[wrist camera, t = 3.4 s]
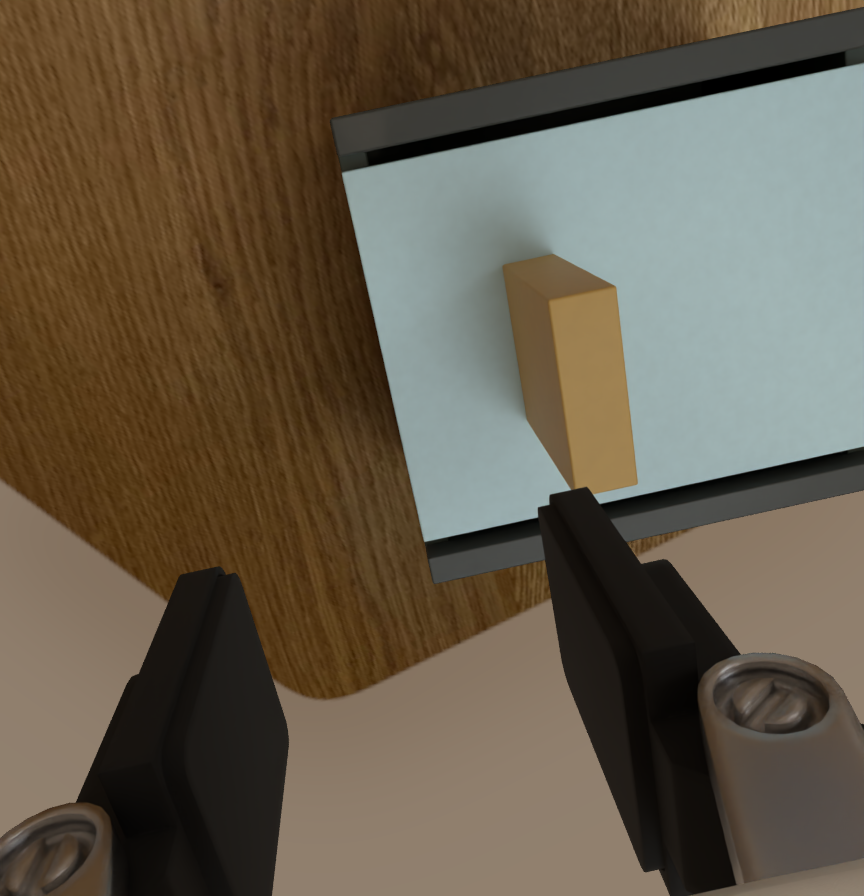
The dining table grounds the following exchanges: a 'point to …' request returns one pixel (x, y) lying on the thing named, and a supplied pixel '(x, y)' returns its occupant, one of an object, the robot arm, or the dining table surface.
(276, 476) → the dining table surface
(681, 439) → the box lid
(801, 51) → the display box
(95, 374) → the dining table surface
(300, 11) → the dining table surface
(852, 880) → the robot arm
